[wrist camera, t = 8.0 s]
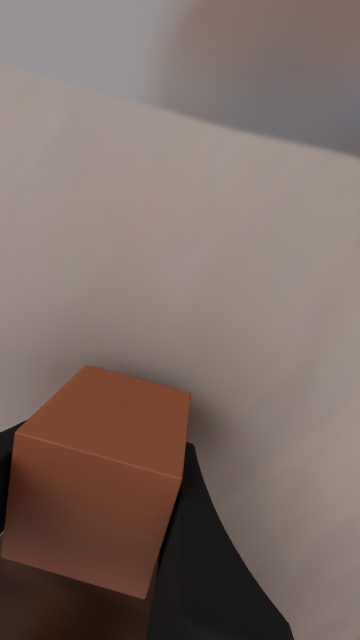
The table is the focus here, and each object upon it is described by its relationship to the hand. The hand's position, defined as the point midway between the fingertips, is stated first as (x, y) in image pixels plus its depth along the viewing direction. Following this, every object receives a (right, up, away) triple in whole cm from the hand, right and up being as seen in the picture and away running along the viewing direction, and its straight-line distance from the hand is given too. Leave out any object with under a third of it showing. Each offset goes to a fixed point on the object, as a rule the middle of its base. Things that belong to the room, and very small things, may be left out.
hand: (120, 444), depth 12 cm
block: (0, 0, +1) cm, 1 cm away
